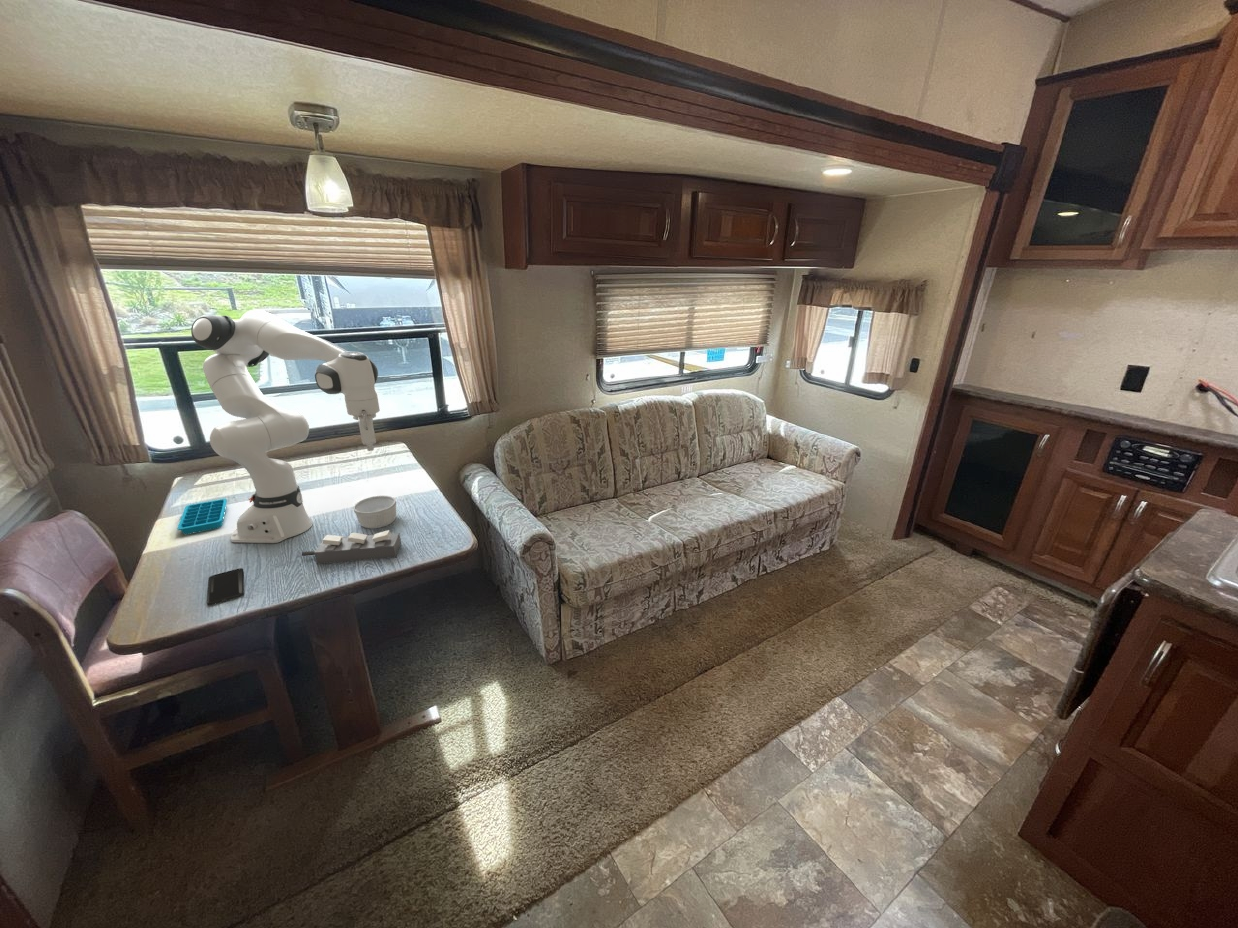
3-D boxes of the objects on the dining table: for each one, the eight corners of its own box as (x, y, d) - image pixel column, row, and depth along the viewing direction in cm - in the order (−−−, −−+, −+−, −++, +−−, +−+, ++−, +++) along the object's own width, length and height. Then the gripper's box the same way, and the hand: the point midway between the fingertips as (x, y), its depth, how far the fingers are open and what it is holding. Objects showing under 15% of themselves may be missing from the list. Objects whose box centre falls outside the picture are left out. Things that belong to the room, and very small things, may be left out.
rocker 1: (322, 543, 144) (322, 539, 144) (326, 538, 147) (326, 534, 147) (338, 545, 146) (339, 541, 145) (342, 540, 148) (342, 536, 148)
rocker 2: (348, 541, 146) (348, 537, 145) (351, 536, 148) (351, 532, 148) (363, 543, 147) (364, 539, 147) (366, 538, 150) (367, 534, 149)
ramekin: (353, 532, 161) (349, 514, 158) (361, 514, 173) (357, 497, 170) (395, 528, 164) (392, 510, 162) (401, 510, 176) (398, 493, 174)
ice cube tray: (179, 537, 156) (176, 529, 155) (188, 512, 172) (185, 505, 171) (224, 528, 162) (221, 521, 161) (229, 505, 178) (227, 497, 177)
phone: (242, 567, 140) (243, 593, 129) (244, 570, 141) (244, 597, 130) (208, 576, 136) (205, 604, 125) (209, 579, 136) (206, 608, 125)
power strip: (298, 565, 143) (294, 552, 141) (308, 551, 150) (305, 538, 148) (395, 557, 148) (393, 544, 146) (401, 543, 155) (399, 531, 154)
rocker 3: (374, 542, 148) (372, 538, 147) (376, 537, 150) (374, 533, 150) (388, 538, 148) (386, 534, 147) (390, 533, 151) (389, 529, 150)
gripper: (376, 414, 140) (384, 458, 145) (372, 398, 157) (379, 438, 162) (351, 416, 137) (360, 461, 142) (350, 400, 154) (358, 441, 159)
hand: (370, 449), depth 152 cm, fingers closed
